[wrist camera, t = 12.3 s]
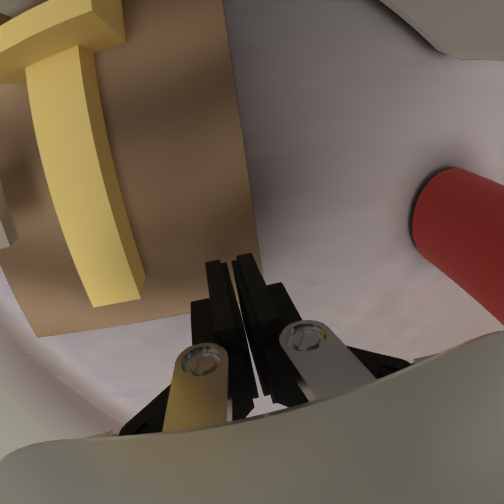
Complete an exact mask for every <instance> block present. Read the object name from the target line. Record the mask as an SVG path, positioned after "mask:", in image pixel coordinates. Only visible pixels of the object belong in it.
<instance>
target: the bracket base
mask: <svg viewBox="0 0 504 504" xmlns="http://www.w3.org/2000/svg"><path fill="white" fill-rule="evenodd" d="M46 1H48V0H0V13H2V14H4V15H7V16H9V17H12V18H15V17H17V16H18V15H20V14H22V13H24V12H26V11H28V10H30V9H32V8H34V7H36V6H38V5H40V4H42V3H44V2H46ZM121 1H122V11H123V20H124V28H125V36H126V43H124V44H120V45H117V46H114V47H110V48H107V49H104V50H101V51H98V52H95V53H93V54H94V62H95V69H96V76H97V82H98V89H99V94H100V100H101V106H102V111H103V117H104V122H105V127H106V132H107V136H108V141H109V146H110V150H111V155H112V159H113V163H114V167H115V171H116V176H117V180H118V183H119V187H120V191H121V195H122V199H123V202H124V206H125V210H126V213H127V217H128V220H129V224H130V227H131V231H132V234H133V237H134V240H135V244H136V247H137V250H138V253H139V256H140V259H141V263H142V266H143V269H144V272H145V275H146V278H145V282H144V287H143V292H142V296H141V299H137V300H131V301H126V302H121V303H115V304H110V305H105V306H99V307H94V308H93V306H92V303H91V301H90V299H89V297H88V294H87V292H86V290H85V288H84V285H83V283H82V281H81V278H80V276H79V273H78V271H77V268H76V266H75V263H74V261H73V258H72V256H71V253H70V251H69V248H68V245H67V242H66V240H65V237H64V234H63V231H62V228H61V225H60V222H59V219H58V216H57V213H56V210H55V207H54V204H53V201H52V197H51V194H50V190H49V187H48V183H47V180H46V176H45V172H44V168H43V165H42V161H41V156H40V152H39V148H38V143H37V139H36V134H35V129H34V124H33V119H32V113H31V107H30V101H29V95H28V87H27V81H25V82H22V83H20V84H10V83H0V265H1V268H2V270H3V272H4V274H5V277H6V279H7V281H8V283H9V285H10V287H11V289H12V291H13V293H14V295H15V297H16V299H17V301H18V303H19V305H20V307H21V309H22V311H23V313H24V315H25V317H26V318H27V320H28V322H29V324H30V326H31V327H32V329H33V331H34V333H35V334H36V336H37V338H38V337H45V336H53V335H60V334H67V333H74V332H81V331H88V330H94V329H101V328H107V327H113V326H119V325H125V324H131V323H137V322H143V321H149V320H154V319H160V318H165V317H171V316H176V315H181V314H187V313H191V307H190V303H191V301H196V300H201V299H206V298H209V290H208V283H207V275H206V267H205V262H209V261H214V260H218V259H220V262H221V263H224V262H227V265H228V269H229V273H230V276H231V280H232V284H233V288H234V291H235V295H236V299H237V302H238V303H239V298H238V293H237V288H236V283H235V278H234V273H233V268H232V262H231V261H233V260H237V258H236V256H238V255H242V254H247V253H252V255H253V257H254V259H255V261H256V264H257V266H258V268H259V270H260V272H261V275H262V267H261V260H260V253H259V246H258V239H257V232H256V225H255V218H254V211H253V204H252V197H251V190H250V183H249V176H248V169H247V162H246V156H245V149H244V142H243V135H242V128H241V122H240V115H239V108H238V102H237V95H236V88H235V82H234V75H233V68H232V62H231V55H230V49H229V42H228V36H227V29H226V23H225V16H224V10H223V4H222V0H121ZM262 277H263V275H262Z"/></svg>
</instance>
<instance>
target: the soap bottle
mask: <svg viewBox="0 0 504 504" xmlns="http://www.w3.org/2000/svg"><path fill="white" fill-rule="evenodd" d="M380 1H381V2H383V3H384V4H385V5H386V6H388V7H389V8H390V9H391V10H393V11H394V12H395V13H396V14H398V15H399V16H400V17H401V18H402V19H404V20H405V21H406V22H407V23H408V24H410V25H411V26H412V27H413V28H414V29H415V30H416V31H417V32H419V33H420V34H421V35H422V36H423V37H424V38H425V39H426V40H427V41H428V42H429V43H430V44H431V45H432V46H433V47H434V48H436V49H437V50H438V51H440V52H443V53H445V54H447V55H450V56H452V57H455V58H458V59H461V60H498V61H504V0H380Z"/></svg>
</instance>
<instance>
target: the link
mask: <svg viewBox="0 0 504 504" xmlns="http://www.w3.org/2000/svg"><path fill="white" fill-rule="evenodd" d="M124 43H126V36H125V28H124V20H123V11H122V1H121V0H48V1H46V2H44V3H42V4H40V5H38V6H36V7H34V8H32V9H30V10H28V11H26V12H24V13H22V14H20V15H18V16H17V17H15V18H12V17H9V16H7V15H4V14H2V13H0V83H10V84H20V83H22V82H25V81H27V87H28V95H29V101H30V107H31V113H32V119H33V124H34V129H35V134H36V139H37V143H38V148H39V152H40V156H41V161H42V165H43V168H44V172H45V176H46V180H47V183H48V187H49V190H50V194H51V197H52V201H53V204H54V207H55V210H56V213H57V216H58V219H59V222H60V225H61V228H62V231H63V234H64V237H65V240H66V242H67V245H68V248H69V251H70V253H71V256H72V258H73V261H74V263H75V266H76V268H77V271H78V273H79V276H80V278H81V281H82V283H83V285H84V288H85V290H86V292H87V294H88V297H89V299H90V301H91V303H92V306H93V308H94V307H99V306H105V305H110V304H115V303H121V302H126V301H131V300H137V299H141V296H142V292H143V287H144V282H145V278H146V275H145V272H144V269H143V266H142V263H141V259H140V256H139V253H138V250H137V247H136V244H135V240H134V237H133V234H132V231H131V227H130V224H129V220H128V217H127V213H126V210H125V206H124V202H123V199H122V195H121V191H120V187H119V183H118V180H117V176H116V171H115V167H114V163H113V159H112V155H111V150H110V146H109V141H108V136H107V132H106V127H105V122H104V117H103V111H102V106H101V100H100V94H99V89H98V82H97V76H96V69H95V62H94V54H93V53H95V52H98V51H101V50H104V49H107V48H110V47H114V46H117V45H120V44H124Z"/></svg>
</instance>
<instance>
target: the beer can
mask: <svg viewBox="0 0 504 504" xmlns="http://www.w3.org/2000/svg"><path fill="white" fill-rule="evenodd" d="M412 231H413V238H414V241H415V244H416V247H417V250H418V251H419V252H420V253H421V254H422V255H423V257H424V258H426V259H427V260H428V261H429V262H431V263H432V264H433V265H434V266H436V267H437V268H438V269H439V270H441V271H442V272H443V273H444V274H446V275H447V276H448V277H449V278H450V279H452V280H453V281H454V282H455V283H456V284H458V285H459V286H460V287H461V288H462V289H464V290H465V291H466V292H467V293H468V294H469V295H471V296H472V297H473V298H474V299H475V300H476V301H477V302H479V303H480V304H481V305H482V306H483V307H484V308H485V309H486V310H488V311H489V312H490V313H491V314H492V315H493V316H494V317H495V318H496V319H497V320H498V321H500V322H501V323H502V324H503V325H504V185H501V184H499V183H496V182H494V181H492V180H489V179H487V178H484V177H482V176H479V175H477V174H474V173H472V172H469V171H466V170H464V169H458V168H450V169H447V170H444V171H441V172H439V173H438V174H437V175H436V176H434V177H433V178H432V179H430V180H429V182H428V183H427V185H426V186H425V187H424V189H423V190H422V191H421V193H420V196H419V198H418V200H417V203H416V205H415V209H414V214H413V219H412Z"/></svg>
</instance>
